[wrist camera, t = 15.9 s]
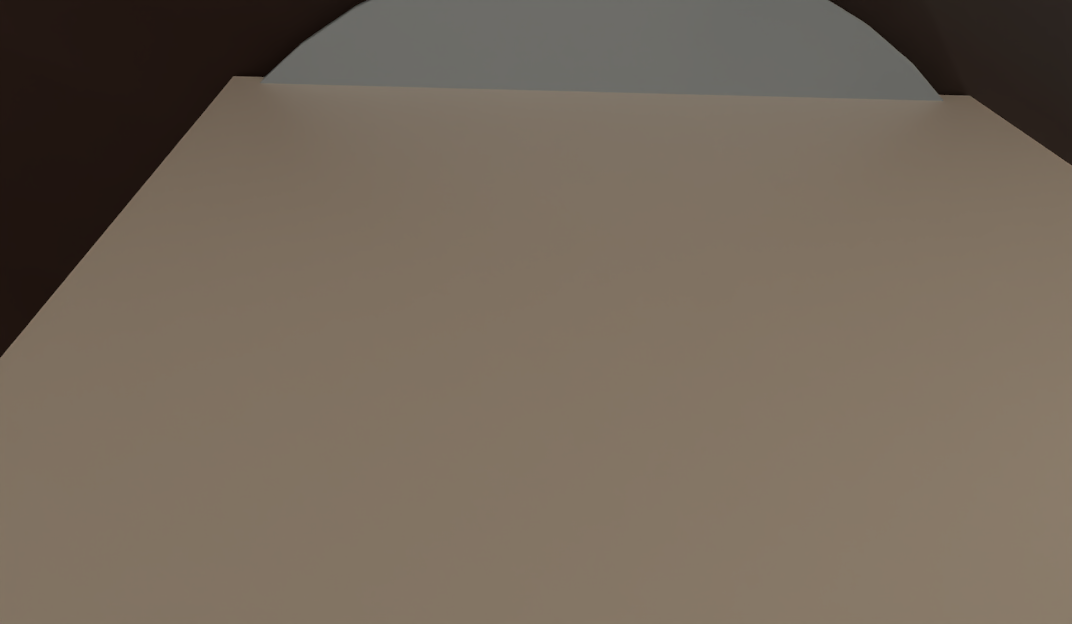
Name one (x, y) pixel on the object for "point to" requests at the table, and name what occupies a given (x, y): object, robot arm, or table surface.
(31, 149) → the table surface
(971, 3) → the table surface
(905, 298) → the block
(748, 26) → the disc
